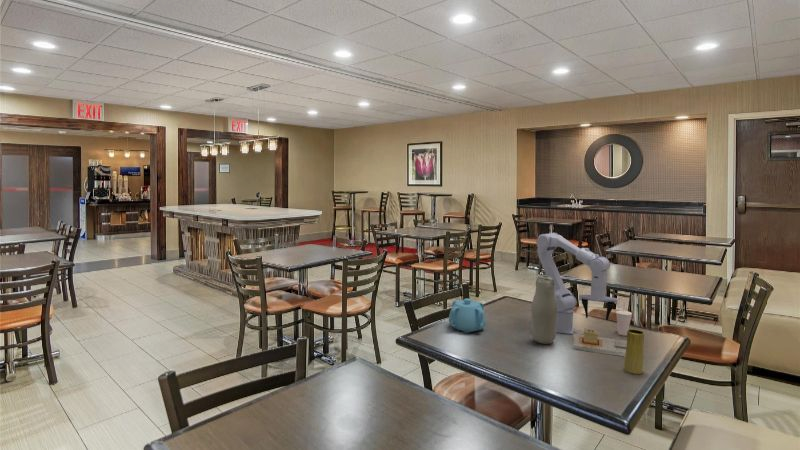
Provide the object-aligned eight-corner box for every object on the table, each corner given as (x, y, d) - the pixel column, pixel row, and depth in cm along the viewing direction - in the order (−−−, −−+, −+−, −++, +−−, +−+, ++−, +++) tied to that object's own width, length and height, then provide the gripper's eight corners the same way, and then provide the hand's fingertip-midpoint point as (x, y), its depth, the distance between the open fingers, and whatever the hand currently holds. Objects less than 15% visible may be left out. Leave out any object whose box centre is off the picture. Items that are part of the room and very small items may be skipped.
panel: (573, 349, 178) (573, 345, 178) (574, 337, 191) (574, 333, 191) (642, 359, 169) (643, 355, 169) (639, 345, 182) (639, 342, 182)
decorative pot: (487, 325, 206) (488, 296, 205) (483, 336, 191) (484, 305, 190) (452, 321, 211) (453, 293, 210) (445, 332, 196) (446, 302, 195)
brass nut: (583, 346, 181) (584, 332, 180) (583, 342, 186) (584, 328, 185) (596, 348, 179) (597, 333, 178) (596, 344, 184) (597, 329, 183)
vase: (620, 367, 161) (622, 328, 160) (636, 366, 162) (638, 328, 160) (630, 374, 155) (632, 334, 154) (646, 374, 156) (649, 334, 154)
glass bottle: (556, 340, 187) (559, 274, 184) (554, 348, 178) (557, 279, 175) (532, 336, 191) (535, 272, 188) (528, 344, 182) (531, 277, 179)
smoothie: (627, 331, 199) (629, 301, 197) (633, 337, 192) (635, 305, 191) (612, 331, 199) (614, 300, 198) (617, 336, 193) (619, 304, 191)
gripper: (579, 286, 185) (577, 318, 186) (618, 290, 179) (616, 323, 181) (579, 283, 191) (578, 314, 193) (617, 286, 186) (615, 318, 187)
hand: (596, 318), depth 187 cm, fingers open, 7 cm apart
